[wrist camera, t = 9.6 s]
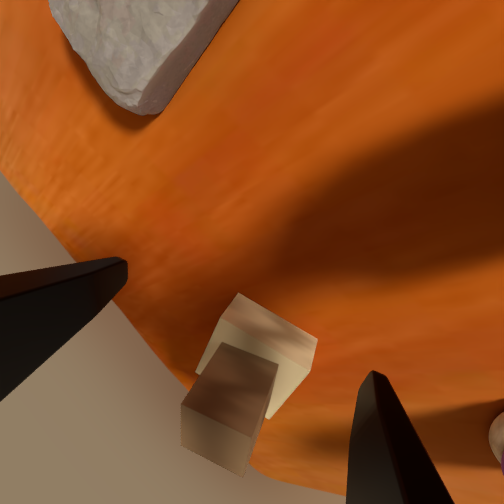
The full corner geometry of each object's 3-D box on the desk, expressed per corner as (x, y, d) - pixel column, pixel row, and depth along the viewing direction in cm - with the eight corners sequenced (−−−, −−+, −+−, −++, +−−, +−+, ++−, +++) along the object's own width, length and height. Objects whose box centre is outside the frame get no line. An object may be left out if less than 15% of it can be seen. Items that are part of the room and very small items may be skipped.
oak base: (318, 336, 25) (310, 371, 21) (280, 384, 29) (269, 419, 26) (239, 290, 26) (220, 317, 22) (214, 343, 30) (195, 372, 27)
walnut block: (279, 364, 22) (251, 438, 17) (269, 403, 25) (243, 477, 20) (221, 341, 24) (180, 404, 18) (218, 380, 26) (180, 445, 21)
